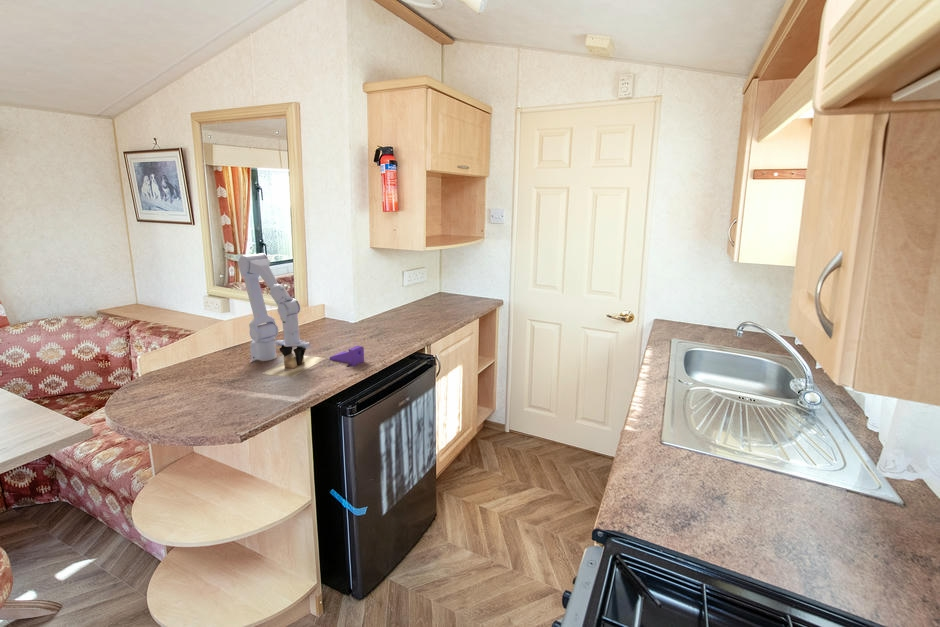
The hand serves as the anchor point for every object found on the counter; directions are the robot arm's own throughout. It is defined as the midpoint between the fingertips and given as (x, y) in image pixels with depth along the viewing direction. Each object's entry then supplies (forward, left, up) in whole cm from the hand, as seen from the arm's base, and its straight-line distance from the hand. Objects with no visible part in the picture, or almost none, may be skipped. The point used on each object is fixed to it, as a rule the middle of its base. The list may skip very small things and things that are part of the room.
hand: (294, 364), depth 190 cm
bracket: (+16, +12, -2) cm, 20 cm away
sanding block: (0, 0, 0) cm, 1 cm away
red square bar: (+6, +14, -2) cm, 15 cm away
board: (0, 0, -2) cm, 2 cm away
